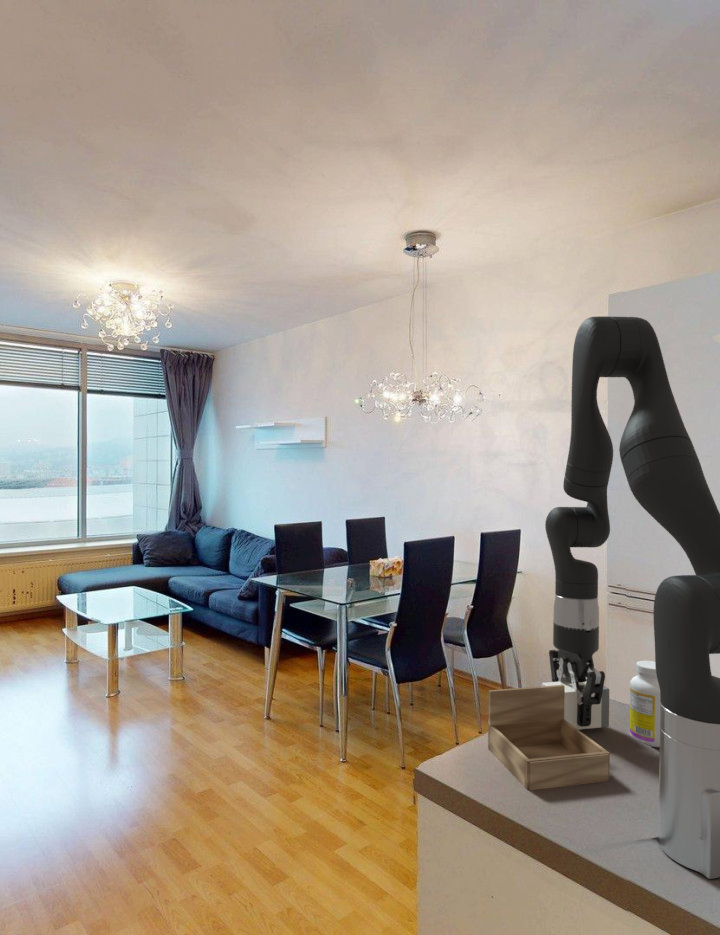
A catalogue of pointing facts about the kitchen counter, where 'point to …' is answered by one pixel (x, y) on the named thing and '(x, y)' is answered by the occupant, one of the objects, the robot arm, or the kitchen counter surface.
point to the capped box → (597, 710)
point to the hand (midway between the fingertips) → (574, 718)
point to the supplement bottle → (645, 704)
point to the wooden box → (542, 739)
